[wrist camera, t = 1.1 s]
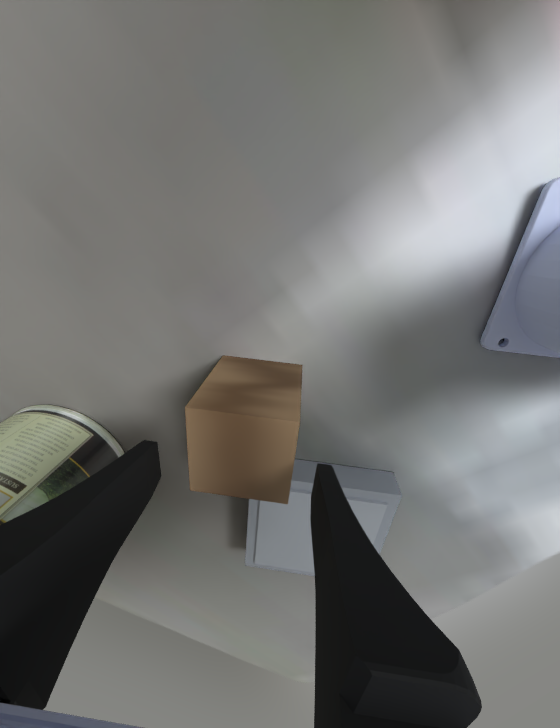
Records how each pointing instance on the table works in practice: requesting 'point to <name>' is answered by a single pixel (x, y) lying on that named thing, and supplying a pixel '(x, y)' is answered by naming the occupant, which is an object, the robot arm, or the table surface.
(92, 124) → the table surface
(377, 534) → the pedestal
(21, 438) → the coffee can
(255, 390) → the walnut block
